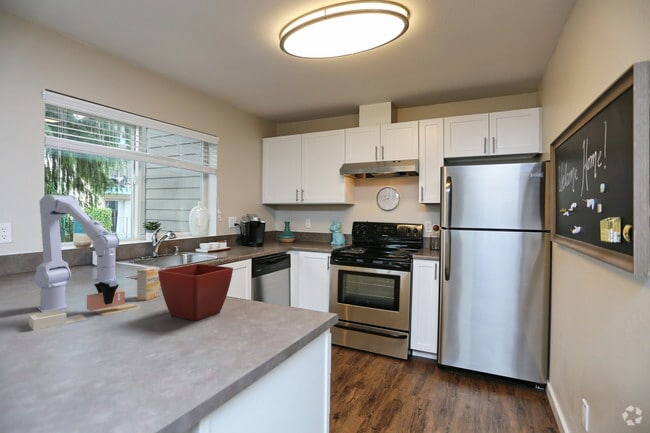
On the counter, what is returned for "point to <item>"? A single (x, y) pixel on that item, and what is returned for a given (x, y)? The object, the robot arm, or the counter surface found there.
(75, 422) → the counter surface
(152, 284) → the supplement box
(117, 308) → the cork mat
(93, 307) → the pink block
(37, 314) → the dispenser sleeve
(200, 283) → the plant pot
